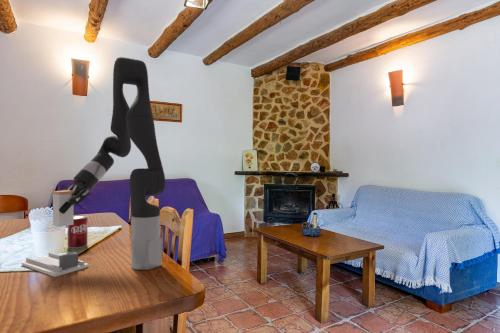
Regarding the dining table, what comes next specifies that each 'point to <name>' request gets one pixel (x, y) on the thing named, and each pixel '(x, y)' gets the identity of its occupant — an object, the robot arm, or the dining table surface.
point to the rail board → (56, 264)
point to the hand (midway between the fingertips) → (57, 211)
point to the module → (58, 201)
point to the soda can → (78, 232)
